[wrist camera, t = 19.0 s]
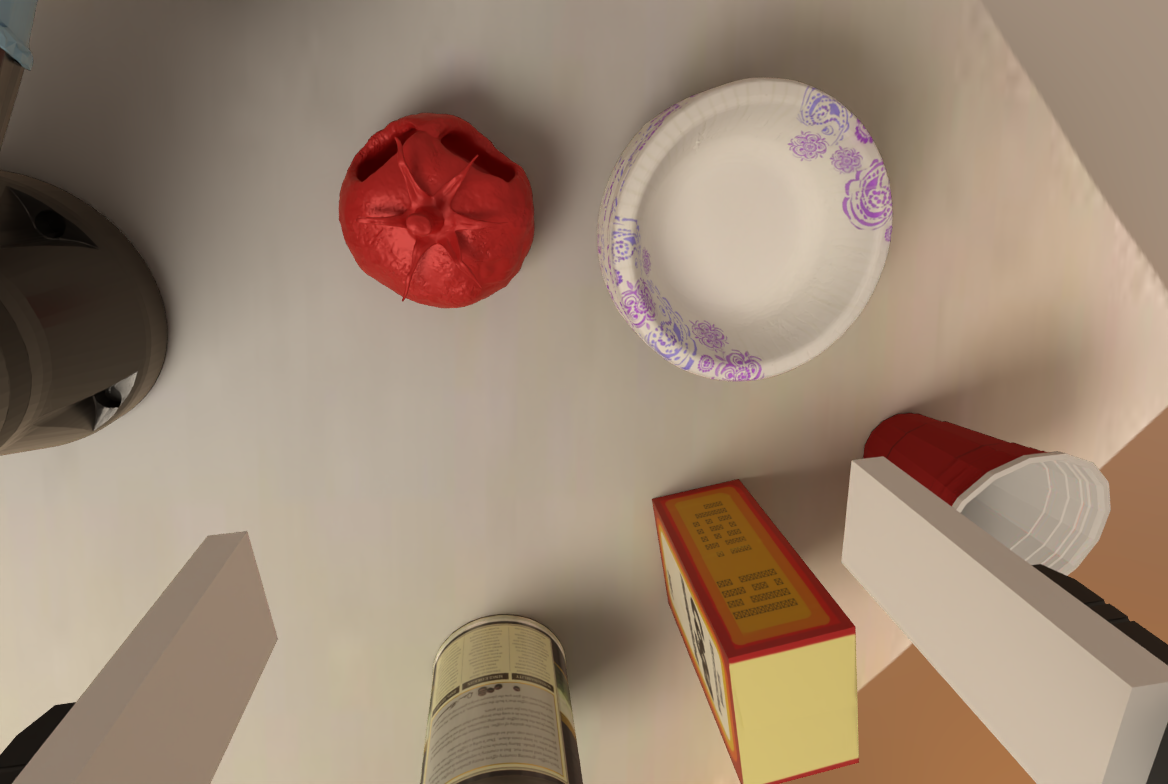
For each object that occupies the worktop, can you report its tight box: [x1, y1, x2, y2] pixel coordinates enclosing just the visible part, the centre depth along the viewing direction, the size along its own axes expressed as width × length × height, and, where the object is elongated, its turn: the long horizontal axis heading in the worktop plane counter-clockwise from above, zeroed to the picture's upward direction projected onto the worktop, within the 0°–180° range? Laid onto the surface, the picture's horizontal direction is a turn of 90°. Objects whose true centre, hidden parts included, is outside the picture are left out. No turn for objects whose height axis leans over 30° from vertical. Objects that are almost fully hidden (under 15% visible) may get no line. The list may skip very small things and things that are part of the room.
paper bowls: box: [597, 78, 893, 381], centre depth 35 cm, size 15×15×8 cm
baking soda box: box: [652, 479, 859, 784], centre depth 39 cm, size 10×6×16 cm
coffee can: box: [420, 615, 583, 784], centre depth 41 cm, size 10×10×14 cm
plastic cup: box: [863, 413, 1110, 576], centre depth 40 cm, size 11×11×12 cm
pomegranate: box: [339, 113, 534, 308], centre depth 32 cm, size 10×10×9 cm
